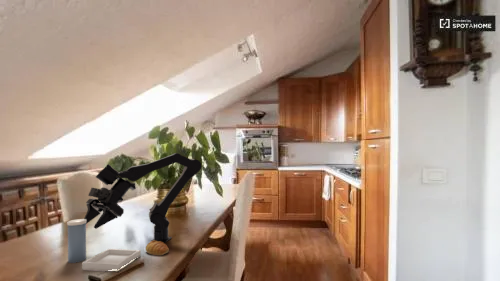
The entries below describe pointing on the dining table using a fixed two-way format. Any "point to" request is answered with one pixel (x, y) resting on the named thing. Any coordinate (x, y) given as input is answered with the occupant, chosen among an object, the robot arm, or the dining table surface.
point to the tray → (110, 259)
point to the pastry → (157, 248)
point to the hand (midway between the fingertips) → (88, 226)
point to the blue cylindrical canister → (76, 240)
